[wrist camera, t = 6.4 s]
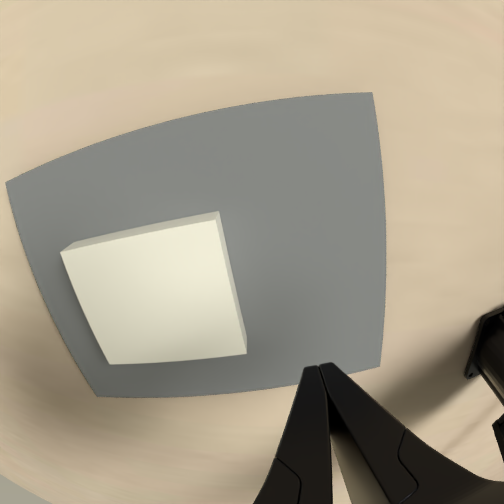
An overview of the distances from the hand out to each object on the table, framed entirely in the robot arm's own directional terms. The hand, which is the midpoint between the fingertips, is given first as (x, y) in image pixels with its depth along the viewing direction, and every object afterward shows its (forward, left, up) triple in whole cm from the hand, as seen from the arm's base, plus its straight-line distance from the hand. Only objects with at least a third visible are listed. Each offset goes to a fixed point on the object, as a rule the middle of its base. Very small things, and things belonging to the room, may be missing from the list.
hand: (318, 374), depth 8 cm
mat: (0, +5, -8) cm, 9 cm away
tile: (0, +3, -6) cm, 7 cm away
